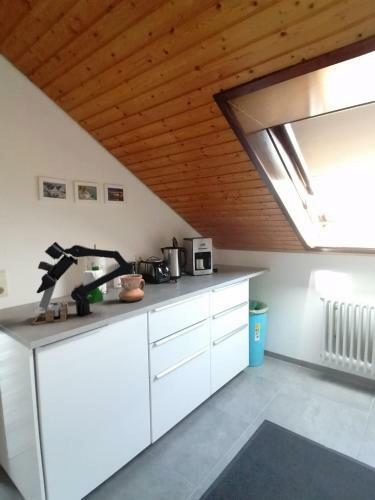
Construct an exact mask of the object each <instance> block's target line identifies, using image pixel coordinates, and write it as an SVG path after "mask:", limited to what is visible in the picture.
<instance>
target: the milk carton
mask: <svg viewBox="0 0 375 500" xmlns="http://www.w3.org/2000/svg"><path fill="white" fill-rule="evenodd" d="M82 274H83V278H84V284H88V283H90V282H92V281H94V280H96V279H97V278H99V277H101V276H103V270H102V269H100V267H99V265H96V266H91V269H89V270H86V271H82ZM88 295H89V298H88V301H89V304H96V303H99V302H100V303H101V302H103V301H104V295H103V285H101V286H99V287H98V288H96V289H94V290H92V291H91V292H90V293H88Z"/></svg>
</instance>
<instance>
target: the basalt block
mask: <svg viewBox="0 0 375 500" xmlns="http://www.w3.org/2000/svg"><path fill="white" fill-rule="evenodd" d="M56 285H57V283H56V284H55V285H54V286H53V287H51V288H48V289H46V290H44V291H43V294H42V297H41V300H40V303H39V306H38V307H42V308H46V309H47V308H48V306H49V305H50V303H51V299H52V297H53V294H54V292H55V289H56Z"/></svg>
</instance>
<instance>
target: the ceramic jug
mask: <svg viewBox="0 0 375 500" xmlns="http://www.w3.org/2000/svg"><path fill="white" fill-rule="evenodd" d="M119 277H120V282H118V283H117V285H118V286H122V287H123V289H122V290H121V291H120V292H119V294H118V297H119V299H120V300H121V301H124V302H138V301H140V300H142V299H143V298H144V297H145V292H144V289H145V286H146V285H145V284H146V283H145V280H144V279H142V278H143V275H142V274H137V273H134V274H133V273H132V274H131V273H130V274H126V275H123V276H119ZM140 285H141V287H140ZM139 287H140V288H139Z"/></svg>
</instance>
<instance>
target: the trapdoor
mask: <svg viewBox="0 0 375 500" xmlns="http://www.w3.org/2000/svg"><path fill="white" fill-rule="evenodd" d="M61 307H62V304H61V303H60V304H58V305H54V304H50V303H49V306H48V308H47V309H46V308H42V307H39V306H38V307H37V308H36V310H35V311H34V313H35V314H39V313H45V311H46V310H53V313H54V317H59V316H60V309H61Z"/></svg>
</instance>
